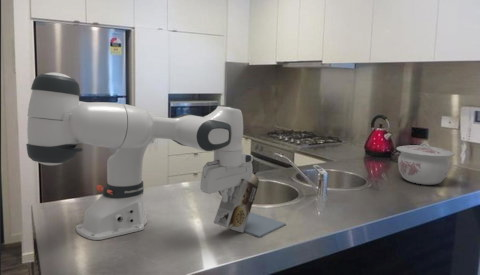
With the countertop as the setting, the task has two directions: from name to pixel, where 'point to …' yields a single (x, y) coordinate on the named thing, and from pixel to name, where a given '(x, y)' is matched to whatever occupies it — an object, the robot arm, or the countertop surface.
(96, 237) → the robot arm
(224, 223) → the coffee box
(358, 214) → the countertop surface
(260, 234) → the mat
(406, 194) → the countertop surface
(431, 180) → the chamber pot
